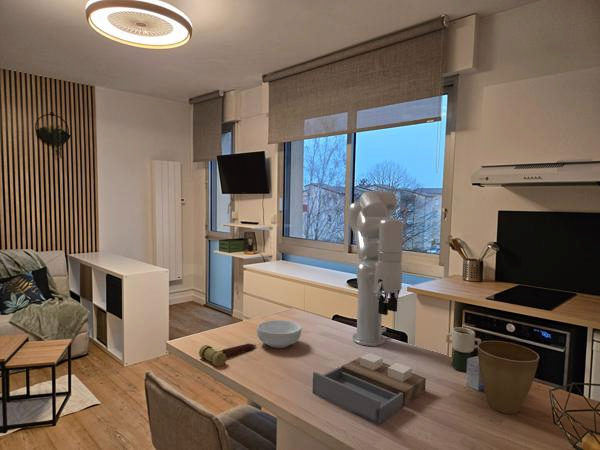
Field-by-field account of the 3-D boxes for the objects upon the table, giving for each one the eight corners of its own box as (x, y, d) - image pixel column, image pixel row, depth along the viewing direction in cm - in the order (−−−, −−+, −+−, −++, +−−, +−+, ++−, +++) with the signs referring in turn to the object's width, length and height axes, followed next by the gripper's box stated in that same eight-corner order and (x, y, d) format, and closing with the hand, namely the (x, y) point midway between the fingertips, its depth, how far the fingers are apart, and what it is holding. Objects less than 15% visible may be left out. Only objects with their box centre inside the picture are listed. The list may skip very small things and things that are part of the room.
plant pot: (536, 428, 97) (540, 366, 95) (471, 411, 104) (474, 353, 103) (534, 402, 110) (538, 346, 108) (476, 388, 117) (479, 336, 116)
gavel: (247, 335, 148) (264, 343, 141) (246, 347, 148) (263, 355, 142) (199, 346, 133) (215, 354, 126) (198, 359, 133) (214, 368, 126)
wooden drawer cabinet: (363, 367, 130) (363, 355, 129) (425, 391, 114) (425, 378, 114) (340, 378, 121) (341, 366, 121) (404, 406, 106) (405, 391, 105)
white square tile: (369, 360, 125) (369, 353, 125) (382, 365, 122) (382, 357, 122) (359, 365, 122) (360, 357, 122) (373, 370, 118) (373, 362, 118)
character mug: (480, 368, 131) (482, 330, 130) (478, 376, 125) (480, 336, 124) (446, 361, 136) (448, 324, 136) (442, 368, 130) (444, 330, 129)
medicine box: (478, 391, 115) (479, 363, 114) (465, 385, 119) (466, 357, 118) (495, 386, 118) (497, 358, 118) (482, 380, 122) (484, 353, 122)
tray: (338, 379, 120) (339, 360, 120) (402, 407, 105) (403, 386, 105) (312, 392, 112) (313, 372, 111) (377, 425, 96) (378, 401, 96)
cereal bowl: (309, 342, 151) (309, 324, 150) (284, 356, 137) (285, 337, 136) (273, 333, 160) (274, 316, 159) (247, 346, 146) (247, 327, 145)
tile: (396, 370, 118) (396, 362, 118) (411, 376, 115) (411, 368, 115) (387, 375, 115) (388, 367, 115) (402, 381, 111) (403, 373, 111)
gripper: (393, 253, 134) (391, 305, 136) (365, 258, 122) (362, 315, 123) (413, 256, 129) (411, 310, 130) (385, 261, 117) (383, 320, 118)
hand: (387, 311), depth 127 cm, fingers open, 4 cm apart
